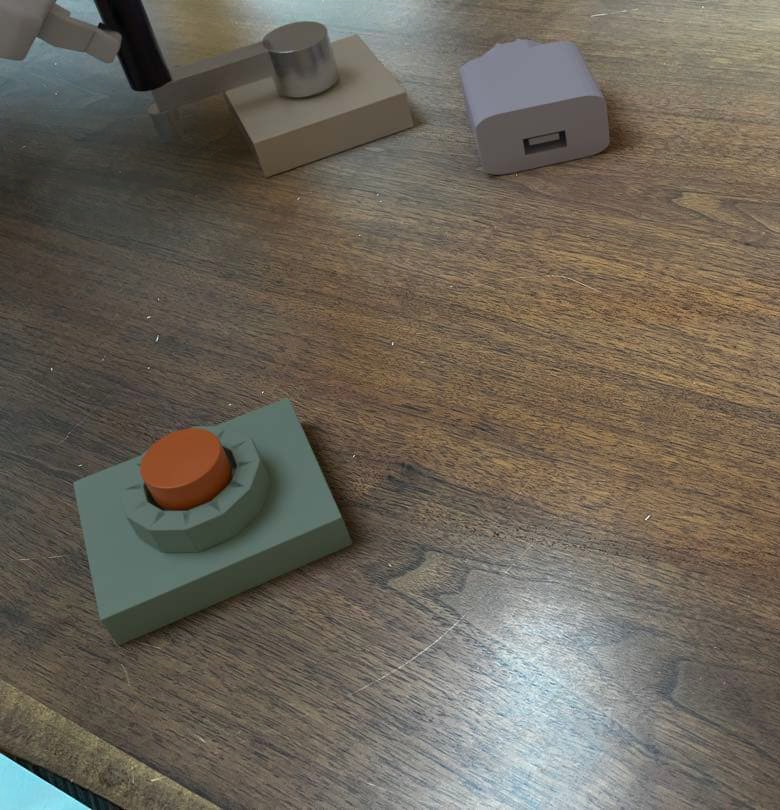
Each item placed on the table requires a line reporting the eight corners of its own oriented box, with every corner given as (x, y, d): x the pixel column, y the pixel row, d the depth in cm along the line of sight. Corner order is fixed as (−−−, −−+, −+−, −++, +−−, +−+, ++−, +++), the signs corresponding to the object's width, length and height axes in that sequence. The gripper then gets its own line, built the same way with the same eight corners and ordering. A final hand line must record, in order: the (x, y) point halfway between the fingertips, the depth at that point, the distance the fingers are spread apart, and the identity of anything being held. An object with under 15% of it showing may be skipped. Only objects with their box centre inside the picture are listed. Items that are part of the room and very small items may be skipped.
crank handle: (331, 68, 87) (286, -92, 78) (350, 93, 84) (305, -71, 75) (148, 128, 84) (80, -32, 75) (159, 157, 80) (89, -8, 72)
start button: (160, 523, 52) (147, 500, 51) (146, 470, 55) (133, 447, 54) (240, 491, 53) (228, 467, 52) (222, 440, 56) (211, 416, 55)
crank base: (265, 178, 81) (253, 143, 79) (229, 112, 89) (217, 78, 87) (414, 126, 84) (406, 91, 82) (365, 67, 92) (357, 33, 90)
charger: (567, 59, 88) (611, 152, 78) (457, 82, 88) (485, 179, 77) (561, 3, 85) (605, 91, 74) (446, 26, 85) (473, 119, 74)
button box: (118, 646, 52) (83, 597, 49) (89, 508, 59) (57, 458, 56) (353, 544, 55) (332, 493, 52) (299, 423, 61) (279, 372, 59)
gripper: (-117, -82, 61) (122, 52, 68) (-17, -187, 76) (171, -69, 83) (-149, 7, 64) (82, 127, 71) (-48, -110, 79) (136, -2, 86)
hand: (130, 21), depth 77 cm, fingers open, 8 cm apart
